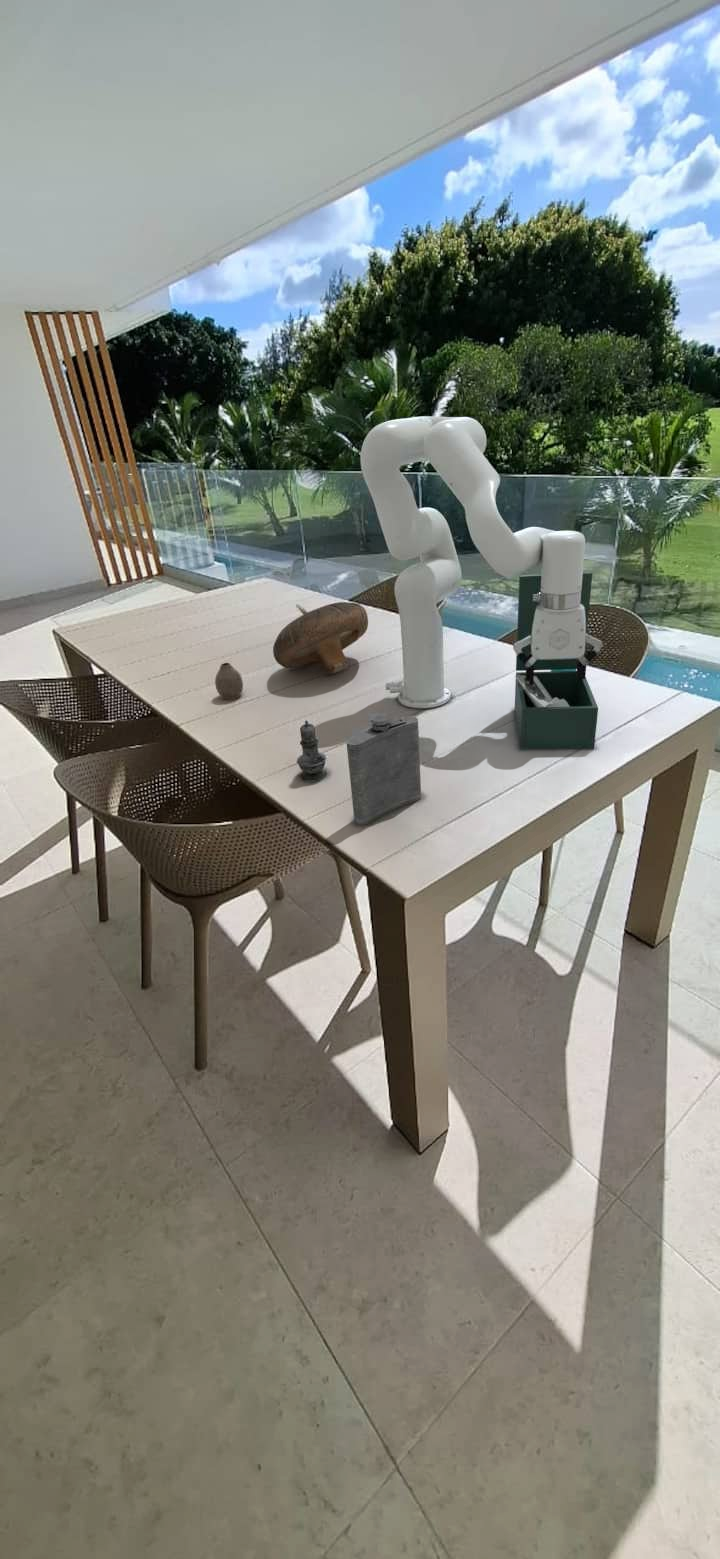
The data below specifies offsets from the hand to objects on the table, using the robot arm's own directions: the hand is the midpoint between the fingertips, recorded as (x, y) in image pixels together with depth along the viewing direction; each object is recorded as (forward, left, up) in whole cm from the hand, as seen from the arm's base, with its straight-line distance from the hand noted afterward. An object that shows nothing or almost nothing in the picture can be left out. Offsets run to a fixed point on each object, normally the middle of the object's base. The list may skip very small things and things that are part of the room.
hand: (554, 682), depth 138 cm
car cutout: (-2, 0, -5) cm, 5 cm away
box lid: (0, +9, +9) cm, 13 cm away
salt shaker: (-48, -20, -10) cm, 53 cm away
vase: (-78, +21, -10) cm, 81 cm away
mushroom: (-56, +38, -10) cm, 68 cm away
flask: (-32, -32, -10) cm, 46 cm away
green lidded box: (0, 0, -10) cm, 10 cm away
